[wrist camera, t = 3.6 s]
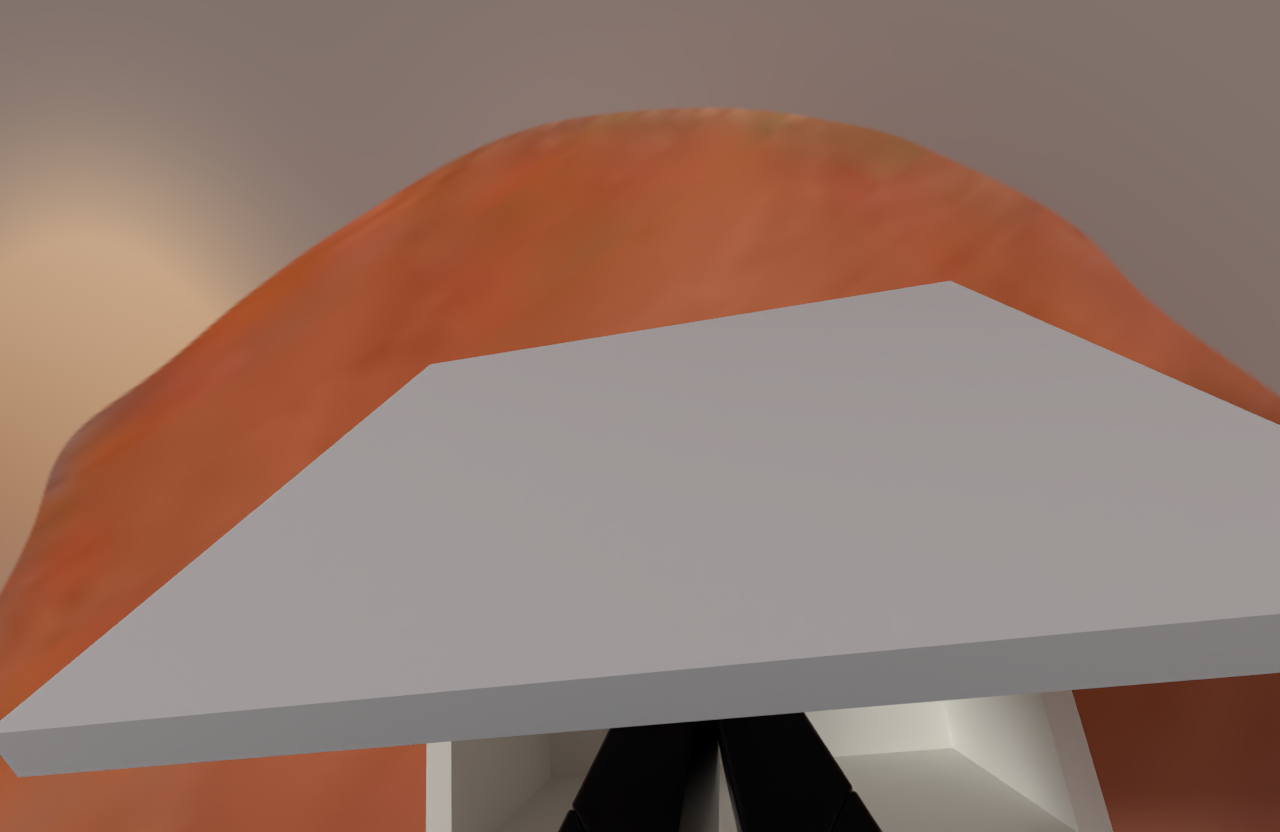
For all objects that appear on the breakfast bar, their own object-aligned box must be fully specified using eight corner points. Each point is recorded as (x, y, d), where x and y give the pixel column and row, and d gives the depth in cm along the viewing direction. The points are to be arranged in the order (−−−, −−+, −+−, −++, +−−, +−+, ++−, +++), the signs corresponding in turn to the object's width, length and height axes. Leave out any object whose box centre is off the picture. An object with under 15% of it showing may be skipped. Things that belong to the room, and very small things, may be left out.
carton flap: (1600, 647, 4) (1633, 580, 4) (18, 778, 6) (-17, 734, 6) (950, 304, 15) (950, 280, 15) (436, 384, 17) (430, 364, 17)
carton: (971, 763, 19) (1124, 868, 11) (540, 794, 21) (425, 903, 13) (885, 403, 23) (957, 303, 15) (525, 453, 24) (429, 386, 17)
